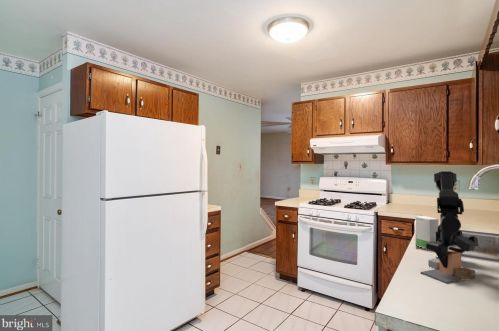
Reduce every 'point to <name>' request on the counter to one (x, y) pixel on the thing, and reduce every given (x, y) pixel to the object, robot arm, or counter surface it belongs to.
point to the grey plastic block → (434, 263)
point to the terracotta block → (452, 263)
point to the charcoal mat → (441, 276)
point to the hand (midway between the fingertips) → (450, 266)
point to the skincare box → (425, 230)
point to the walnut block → (465, 273)
